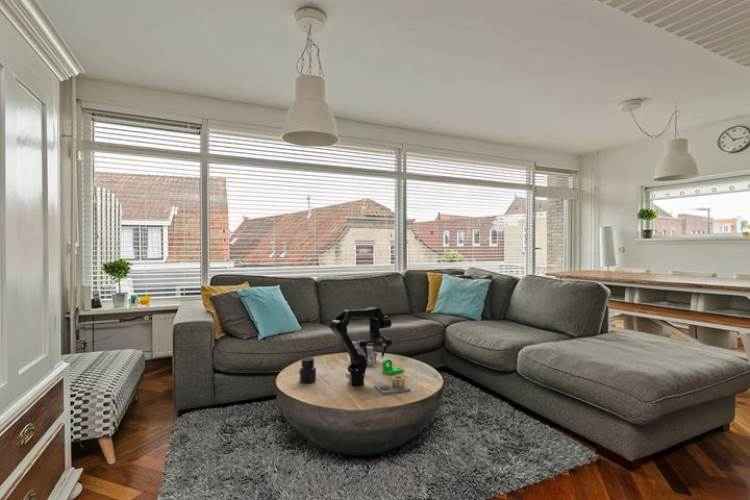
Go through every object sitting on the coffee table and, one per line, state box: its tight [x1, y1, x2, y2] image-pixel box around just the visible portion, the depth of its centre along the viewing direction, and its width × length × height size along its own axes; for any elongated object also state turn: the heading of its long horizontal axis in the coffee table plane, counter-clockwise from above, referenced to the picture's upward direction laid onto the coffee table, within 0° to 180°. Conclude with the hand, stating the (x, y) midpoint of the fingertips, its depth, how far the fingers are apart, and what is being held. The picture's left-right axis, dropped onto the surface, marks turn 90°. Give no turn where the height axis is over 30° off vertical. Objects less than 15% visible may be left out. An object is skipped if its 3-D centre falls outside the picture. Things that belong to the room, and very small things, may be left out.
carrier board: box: [373, 382, 411, 396], centre depth 212 cm, size 15×12×4 cm
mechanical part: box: [382, 358, 404, 376], centre depth 240 cm, size 12×6×8 cm, turn 122°
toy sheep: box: [351, 340, 378, 367], centre depth 259 cm, size 20×11×14 cm, turn 70°
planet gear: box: [391, 375, 406, 388], centre depth 213 cm, size 6×6×4 cm
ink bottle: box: [298, 356, 317, 384], centre depth 225 cm, size 10×9×12 cm
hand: (374, 358), depth 228 cm, fingers open, 9 cm apart
